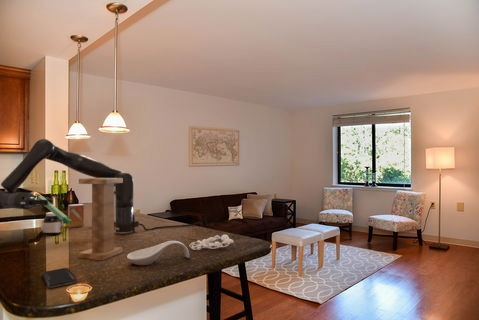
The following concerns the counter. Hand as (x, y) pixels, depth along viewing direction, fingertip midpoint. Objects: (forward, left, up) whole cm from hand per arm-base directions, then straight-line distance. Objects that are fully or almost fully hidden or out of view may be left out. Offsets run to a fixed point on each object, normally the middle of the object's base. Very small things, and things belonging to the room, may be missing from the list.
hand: (49, 202), depth 143 cm
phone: (+5, +43, -21) cm, 49 cm away
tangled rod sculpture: (-57, +45, -21) cm, 76 cm away
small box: (-24, -51, -21) cm, 60 cm away
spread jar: (-8, -37, -21) cm, 43 cm away
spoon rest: (-29, +48, -21) cm, 59 cm away
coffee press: (-44, -43, -21) cm, 64 cm away
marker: (-1, +2, -4) cm, 5 cm away
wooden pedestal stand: (-15, +23, -21) cm, 35 cm away
